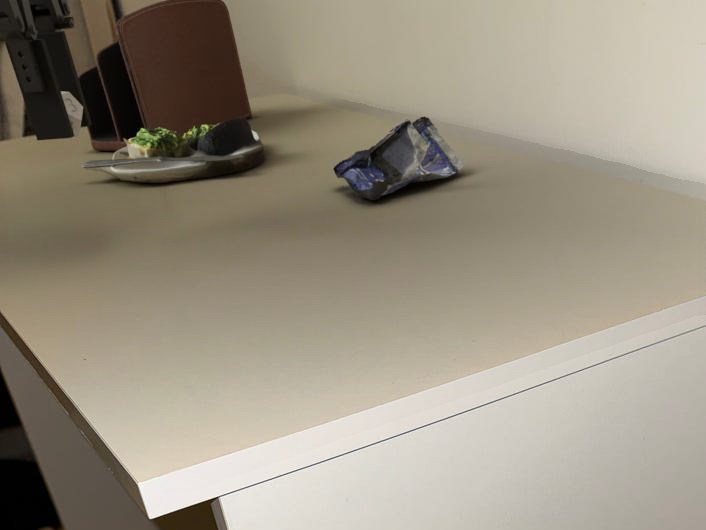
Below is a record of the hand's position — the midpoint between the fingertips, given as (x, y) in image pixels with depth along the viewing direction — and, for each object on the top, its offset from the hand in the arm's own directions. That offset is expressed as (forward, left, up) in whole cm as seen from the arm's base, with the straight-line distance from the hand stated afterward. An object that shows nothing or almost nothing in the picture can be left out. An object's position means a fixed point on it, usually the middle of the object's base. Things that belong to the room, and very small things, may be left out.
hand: (65, 131), depth 74 cm
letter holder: (-6, +50, -9) cm, 51 cm away
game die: (0, 0, -1) cm, 1 cm away
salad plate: (+1, +30, -9) cm, 31 cm away
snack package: (+25, +12, -9) cm, 29 cm away
